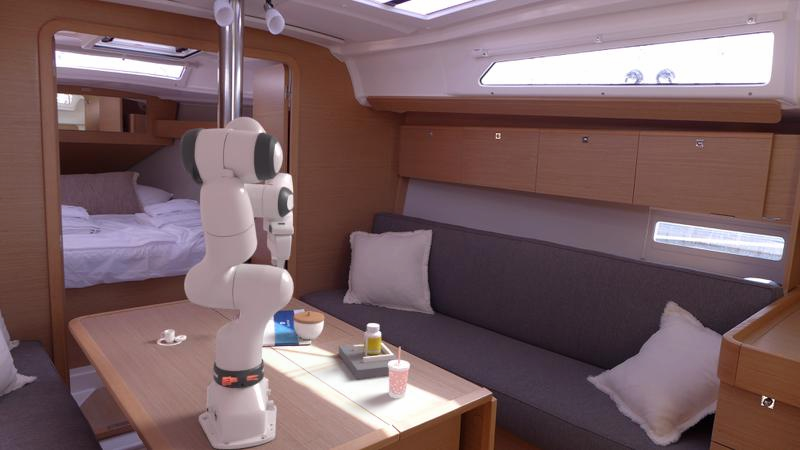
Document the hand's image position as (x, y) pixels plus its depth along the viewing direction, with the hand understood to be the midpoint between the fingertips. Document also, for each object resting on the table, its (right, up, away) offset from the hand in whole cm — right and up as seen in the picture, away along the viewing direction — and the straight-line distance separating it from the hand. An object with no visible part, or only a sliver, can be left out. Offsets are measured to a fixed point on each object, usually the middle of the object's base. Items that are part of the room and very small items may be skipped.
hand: (277, 268), depth 172 cm
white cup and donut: (-37, -27, +11) cm, 47 cm away
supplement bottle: (+29, -28, +3) cm, 40 cm away
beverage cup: (+37, -34, -17) cm, 54 cm away
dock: (+29, -31, +3) cm, 42 cm away
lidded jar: (+6, -26, +23) cm, 36 cm away
